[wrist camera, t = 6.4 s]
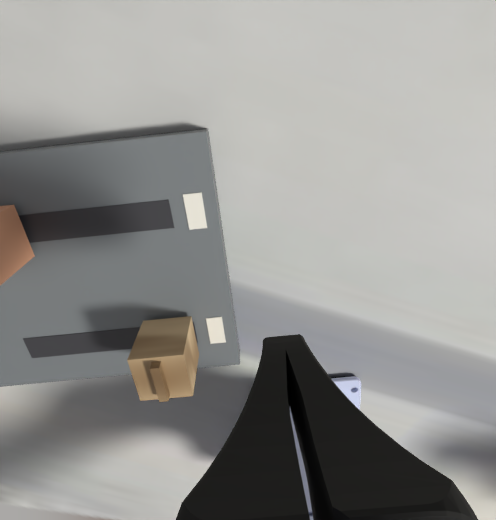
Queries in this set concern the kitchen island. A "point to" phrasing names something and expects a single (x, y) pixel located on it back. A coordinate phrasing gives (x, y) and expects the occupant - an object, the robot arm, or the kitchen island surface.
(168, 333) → the oak knob
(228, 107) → the kitchen island surface
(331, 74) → the kitchen island surface
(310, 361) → the robot arm
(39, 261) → the panel
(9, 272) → the terracotta knob
